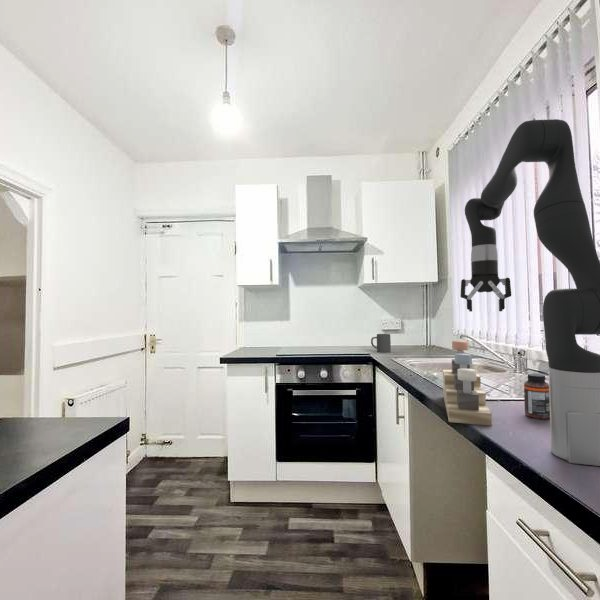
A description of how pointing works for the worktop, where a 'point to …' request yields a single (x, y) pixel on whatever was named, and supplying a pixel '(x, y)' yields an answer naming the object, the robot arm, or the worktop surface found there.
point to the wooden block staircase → (464, 399)
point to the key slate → (463, 360)
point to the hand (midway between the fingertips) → (485, 311)
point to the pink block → (460, 346)
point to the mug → (382, 343)
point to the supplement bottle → (536, 397)
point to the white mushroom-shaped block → (467, 378)
